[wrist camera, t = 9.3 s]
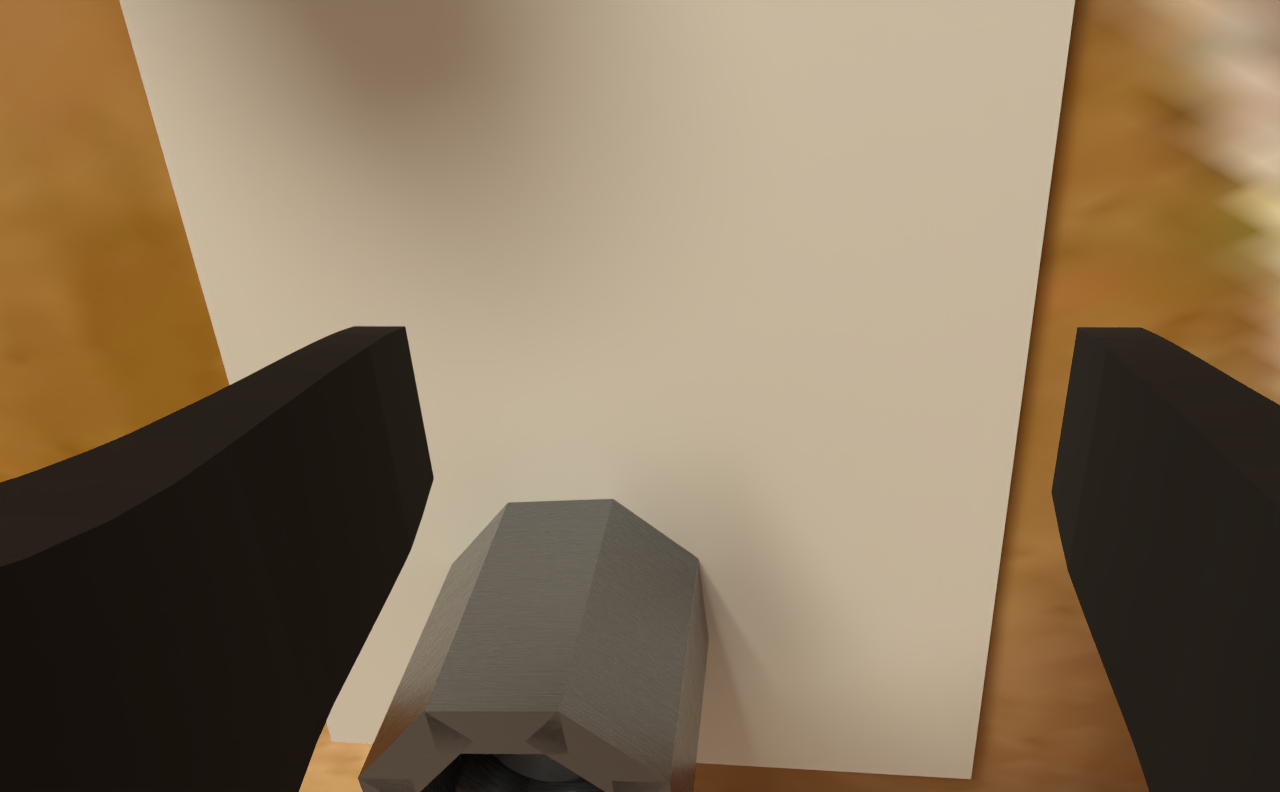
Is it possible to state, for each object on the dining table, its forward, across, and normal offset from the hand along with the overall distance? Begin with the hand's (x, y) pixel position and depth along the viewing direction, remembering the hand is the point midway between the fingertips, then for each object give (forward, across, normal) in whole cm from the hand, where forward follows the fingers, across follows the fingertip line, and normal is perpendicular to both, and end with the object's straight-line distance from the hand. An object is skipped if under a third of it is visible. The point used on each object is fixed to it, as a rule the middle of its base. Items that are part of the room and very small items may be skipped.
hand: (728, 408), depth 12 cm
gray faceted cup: (+8, +4, +10) cm, 14 cm away
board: (+9, +3, +4) cm, 11 cm away
